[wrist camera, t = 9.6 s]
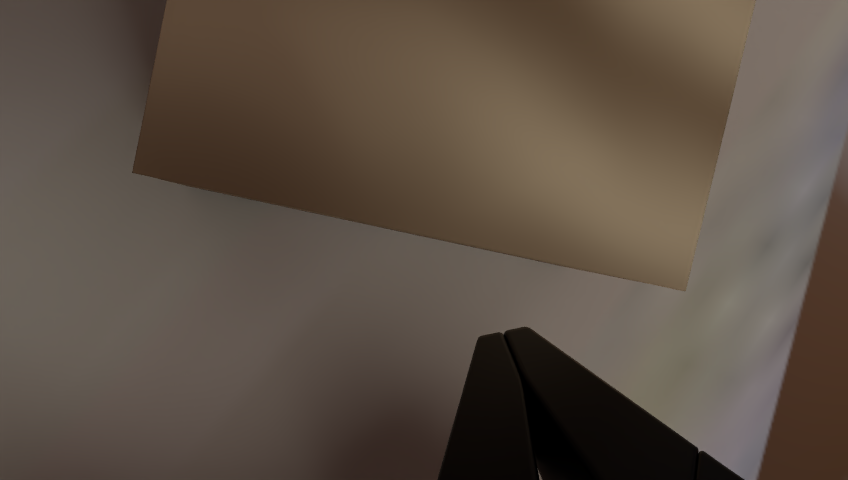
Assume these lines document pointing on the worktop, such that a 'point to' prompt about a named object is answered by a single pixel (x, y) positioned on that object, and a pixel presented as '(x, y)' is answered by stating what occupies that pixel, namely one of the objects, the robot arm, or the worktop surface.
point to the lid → (459, 118)
